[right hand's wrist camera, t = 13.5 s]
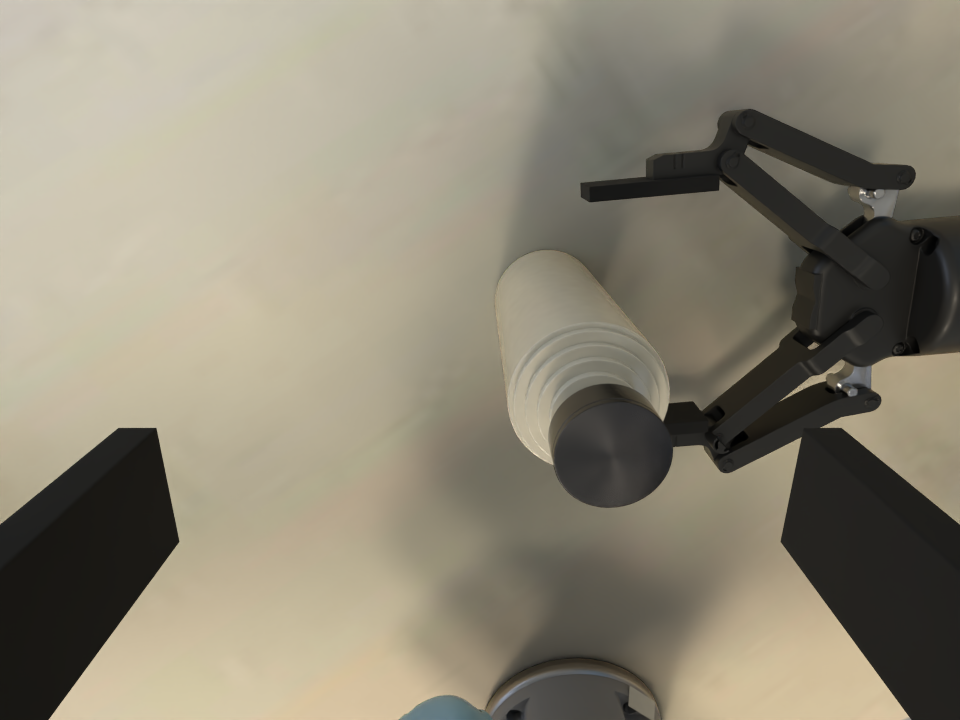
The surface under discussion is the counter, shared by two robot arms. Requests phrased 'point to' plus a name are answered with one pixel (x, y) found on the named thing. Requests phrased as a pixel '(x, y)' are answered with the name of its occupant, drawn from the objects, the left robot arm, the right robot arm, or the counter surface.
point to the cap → (609, 446)
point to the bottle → (565, 343)
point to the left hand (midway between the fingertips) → (587, 316)
